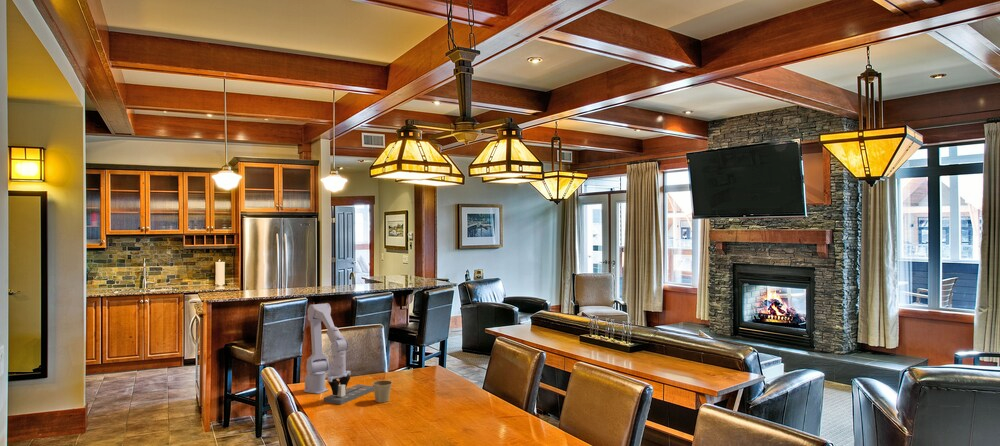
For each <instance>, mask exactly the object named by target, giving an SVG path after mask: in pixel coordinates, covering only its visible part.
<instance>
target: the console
mask: <svg viewBox="0 0 1000 446" xmlns="http://www.w3.org/2000/svg"><path fill="white" fill-rule="evenodd" d="M371 392H374V387H373V385H365V384H360V383H359V384H355V385H353V386H350V387H346V391H345V396H343V397H338V396H333V393H332V394H330V395H327V396H325V397H323V403H327V404H333V405H339V406H341V405H344V404H346V403H348V401H349V402H350V401H353V400H355V399H357V398H360V397H362V395H363V396H364V395H367V394H369V393H371Z"/></svg>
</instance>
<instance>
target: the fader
mask: <svg viewBox="0 0 1000 446" xmlns="http://www.w3.org/2000/svg"><path fill="white" fill-rule="evenodd" d="M345 387H346V385H343V384H340V383H339V386H338V394H337V395H333V396H338V397H343V396H345ZM346 388H347V387H346Z"/></svg>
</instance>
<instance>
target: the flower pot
mask: <svg viewBox="0 0 1000 446" xmlns="http://www.w3.org/2000/svg"><path fill="white" fill-rule="evenodd" d="M371 384H372V386H373V387H374V391H373V392H374V401H375V402H376V403H387V402H389V401H390V394H391V388H392V385H393V381H391V380H387V379H386V380H385V379H384V380H381V379H380V380H376V381H373V382H372V383H371Z"/></svg>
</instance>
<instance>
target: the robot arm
mask: <svg viewBox="0 0 1000 446" xmlns="http://www.w3.org/2000/svg"><path fill="white" fill-rule="evenodd" d="M331 312H332V308H331V305H330V303H328V302H325V303H317V304H309V305H308V308H307V320H308V321H309V322H310V323H309V324H310V335H311V336H310V337H311V355H310V356H309V357H308V358H307V359H306V364H305V365H306V366H305V369H306V372H307V374H306V375H305V378H304V390H303V392H304V393H309V394H310V393H312V394H316V395H318V394H322V393H325V392H326V391H329V390H330V389H331V393H332V394H333V395H337V394H338V386H339V384H343V385H346V387H345V391H346V389H347V388H348V387H347V386H348V383H349V381H350V380H351V370H349V369H348V370H346V367H347V365H346V364H347V363H346V362H347V361H346V360H347V359H346V356H347V351H348V349H349V341H348V339H347V338H345V337H344V336H343V335H342V333H341V332H340V330H339V327H337V326H335V324H334V321H333V318H332V316H331V314H332V313H331ZM322 322H323V325H324V326H325V328H326V329H327V331H326V334H327V338H328V339H329V341H330V344H331V345H330V349H331V354H332V356H333V357H332V361H333V363H332V374H331V375H329V376H328V377H327V383H328V384H329V386H330V389H329V388H326V373H327V372H328V370H329V368H330V364H329V363H330V362H329V359H328V356H327V355H326V354H325V353H324V351H323V337H322V336H323V335H322Z"/></svg>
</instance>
